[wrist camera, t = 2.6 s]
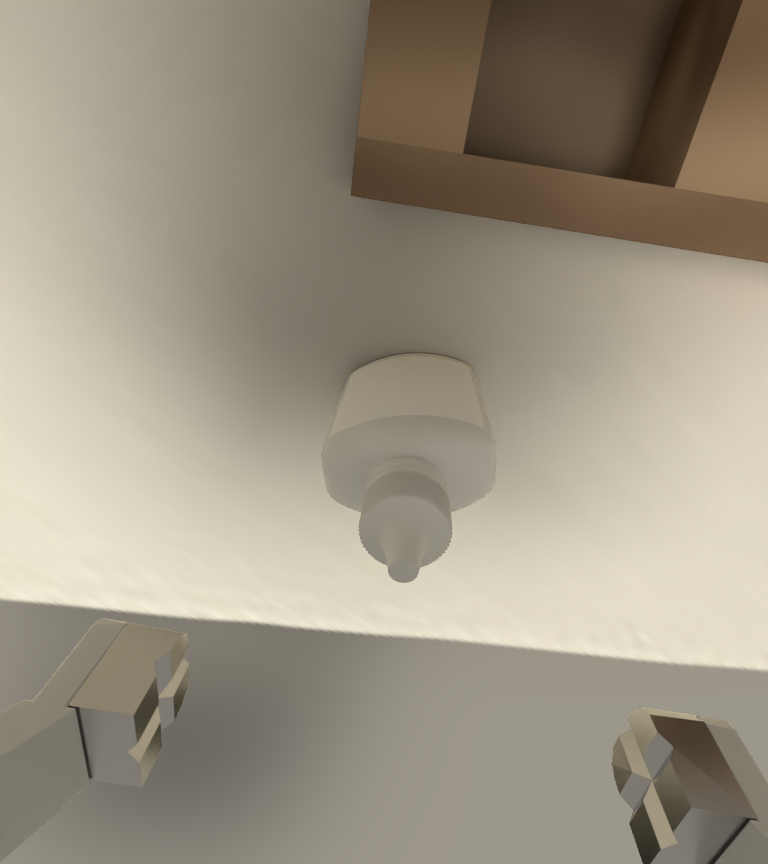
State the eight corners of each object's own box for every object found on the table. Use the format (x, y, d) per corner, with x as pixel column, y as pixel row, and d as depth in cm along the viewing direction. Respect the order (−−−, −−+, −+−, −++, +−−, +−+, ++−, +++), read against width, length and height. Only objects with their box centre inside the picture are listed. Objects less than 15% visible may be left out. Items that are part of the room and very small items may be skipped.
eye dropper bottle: (373, 318, 21) (323, 449, 10) (490, 371, 22) (560, 547, 11) (336, 404, 23) (261, 592, 12) (445, 450, 23) (467, 668, 13)
